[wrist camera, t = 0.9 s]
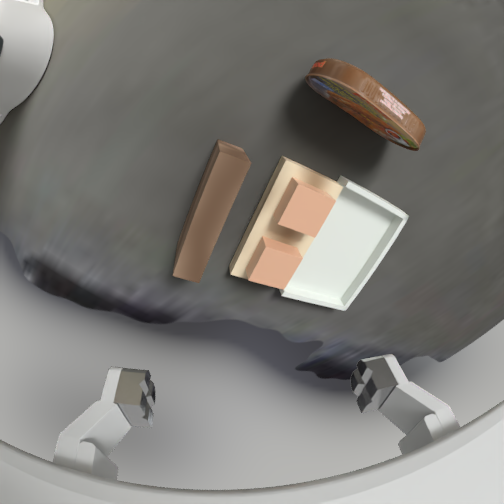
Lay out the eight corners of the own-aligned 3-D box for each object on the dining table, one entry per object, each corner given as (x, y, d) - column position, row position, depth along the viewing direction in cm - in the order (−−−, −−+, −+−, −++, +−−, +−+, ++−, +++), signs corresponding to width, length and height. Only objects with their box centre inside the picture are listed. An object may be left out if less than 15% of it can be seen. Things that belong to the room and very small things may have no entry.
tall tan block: (177, 243, 35) (172, 275, 29) (217, 139, 29) (219, 151, 23) (199, 249, 36) (198, 283, 30) (242, 148, 30) (251, 163, 24)
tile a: (272, 214, 33) (277, 224, 31) (291, 176, 31) (298, 183, 28) (308, 227, 34) (315, 237, 32) (327, 193, 32) (336, 200, 30)
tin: (294, 79, 26) (322, 76, 19) (306, 57, 25) (338, 49, 18) (388, 143, 32) (429, 162, 25) (399, 125, 30) (441, 139, 23)
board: (229, 265, 38) (230, 274, 36) (281, 155, 31) (286, 159, 29) (281, 280, 41) (284, 288, 39) (336, 181, 34) (343, 187, 32)
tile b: (245, 268, 36) (248, 280, 34) (262, 235, 34) (265, 246, 32) (279, 278, 38) (284, 289, 36) (297, 247, 36) (303, 258, 34)
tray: (277, 285, 41) (281, 295, 39) (340, 174, 33) (348, 181, 31) (339, 301, 45) (345, 310, 43) (400, 209, 37) (409, 216, 35)
